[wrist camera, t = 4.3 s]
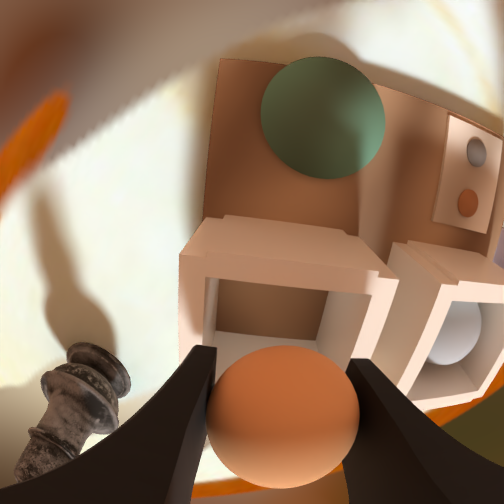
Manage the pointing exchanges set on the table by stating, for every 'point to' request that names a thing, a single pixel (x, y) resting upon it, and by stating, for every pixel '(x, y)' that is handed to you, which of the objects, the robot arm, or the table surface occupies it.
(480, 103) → the table surface
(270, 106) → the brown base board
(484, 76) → the table surface
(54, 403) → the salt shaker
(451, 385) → the open square box
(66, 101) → the table surface
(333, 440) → the orange ball
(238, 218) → the beige open box
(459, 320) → the grey ball
